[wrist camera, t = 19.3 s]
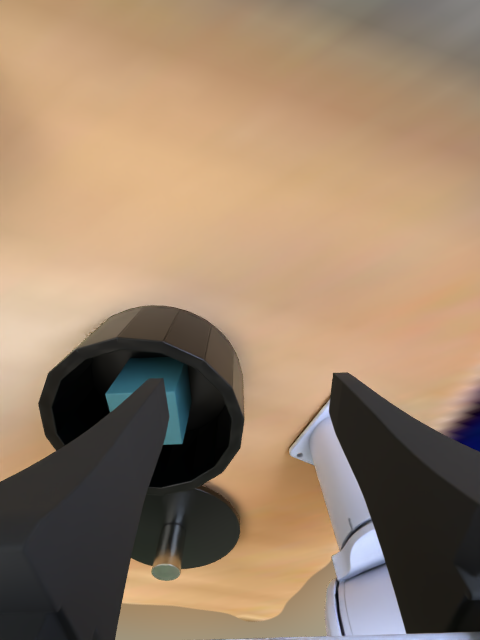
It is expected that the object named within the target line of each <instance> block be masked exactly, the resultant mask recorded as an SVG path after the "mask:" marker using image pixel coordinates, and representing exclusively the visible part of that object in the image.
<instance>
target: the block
mask: <svg viewBox="0 0 480 640" xmlns="http://www.w3.org/2000/svg"><path fill="white" fill-rule="evenodd" d="M149 378H164V385H165V391H166V397H167V404H168V410H169V422H168V427H167V432H166V436H165V440H164V443H163V445H171V444H182V443H183V439H184V435H185V431H186V426H187V422H188V417H189V413H190V408H191V404H192V399H191V391H190V382H189V374H188V365H186V364H184V363H182V362H180V361H177V360H175V359H173V358H170V357H154V358H130V359H129V360H128V361H127V363H126V364H125V366H124V367H123V369H122V370H121V372H120V373H119V375H118V376H117V378H116V379H115V380H114V382H113V383H112V385H111V386H110V388H109V389H108V391H107V392H106V394H105V395H106V399H107V403H108V407H109V411H110V412H112V411H113V410H114V409H115V408H116V407H118V406H119V405H120V404H121V403H122V402H123V401H124V400H125V399H127V398H128V397H129V396H130V395H131V394H132V393H133V392H134V391H136V390H137V389H138V388H139V387H140V386H141V385H142V384H143V383H144V382H145V381H147V380H148V379H149Z"/></svg>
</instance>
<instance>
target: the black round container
mask: <svg viewBox="0 0 480 640" xmlns="http://www.w3.org/2000/svg"><path fill="white" fill-rule="evenodd" d="M154 357H170V358H173V359H175V360H177V361H180V362H182V363H184V364H186V365H188V374H189V382H190V391H191V399H192V404H191V408H190V413H189V417H188V422H187V426H186V431H185V435H184V439H183V443H182V444H171V445H163V446H162V449H161V452H160V455H159V458H158V461H157V464H156V467H155V470H154V473H153V475H152V478H151V481H150V484H149V487H148V490H147V493H146V494H147V495H168V494H172V493H177V492H181V491H186V490H190V489H195V488H197V487H199V486H201V485H202V484H204V483H206V482H207V481H209V480H211V479H212V478H214V477H216V476H217V475H219V474H221V473H222V472H223V471H224V470H225V469H226V467H227V466H228V464H229V463H230V462H231V460H232V459H233V457H234V456H235V455H236V453H237V452H238V451H239V449H240V447H241V440H242V433H243V426H244V396H243V374H242V371H241V368H240V364H239V360H238V357H237V355H236V353H235V350H234V349H233V347H232V345H231V344H230V342H229V341H228V340H227V339H226V337H225V336H224V335H223V334H222V333H221V332H220V331H219V330H218V329H217V328H216V327H215V326H213V325H212V324H211V323H209V322H208V321H206V320H205V319H203V318H201V317H199V316H197V315H195V314H193V313H190V312H188V311H185V310H182V309H178V308H174V307H167V306H142V307H137V308H132V309H129V310H126V311H123V312H121V313H119V314H117V315H113V316H111V317H110V318H109V319H108V320H107V321H106V322H104V323H103V324H102V325H101V326H100V327H99V328H98V329H96V330H95V331H94V332H93V333H92V334H91V335H90V336H89V337H87V338H86V339H85V340H84V341H83V342H82V343H81V344H80V345H79V346H78V347H76V348H75V349H74V350H73V351H72V352H71V353H70V354H69V355H68V356H67V357H65V358H64V359H63V360H62V361H61V362H60V363H59V364H58V365H57V366H55V367H54V368H53V369H52V370H51V371H50V372H49V373H48V376H47V379H46V382H45V385H44V388H43V391H42V394H41V397H40V400H39V403H38V404H39V410H40V414H41V419H42V423H43V428H44V432H45V435H46V438H47V439H48V440H49V441H50V443H51V444H52V445H53V447H54V448H55V449H56V451H57V450H59V449H60V448H62V447H64V446H65V445H67V444H68V443H70V442H71V441H73V440H74V439H76V438H77V437H79V436H80V435H82V434H83V433H85V432H86V431H87V430H89V429H90V428H91V427H93V426H94V425H95V424H97V423H98V422H99V421H100V420H102V419H103V418H104V417H105V416H107V415H108V414H109V413H110V411H109V407H108V403H107V399H106V395H105V394H106V392H107V391H108V389H109V388H110V386H111V385H112V383H113V382H114V380H115V379H116V378H117V376H118V375H119V373H120V372H121V370H122V369H123V367H124V366H125V364H126V363H127V361H128V360H129V359H130V358H154Z"/></svg>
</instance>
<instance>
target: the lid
mask: <svg viewBox="0 0 480 640" xmlns="http://www.w3.org/2000/svg"><path fill="white" fill-rule="evenodd" d="M239 535H240V521H239V517H238V515H237V512H236V510H235V509H234V508H233V506H232V505H231V504H230V503H229V502H228V501H227V500H226V499H225V498H224V497H222V496H221V495H219V494H218V493H216V492H214V491H212V490H210V489H208V488H206V487H203V486H199V487H197V488H195V489H190V490H186V491H181V492H177V493H172V494H168V495H147V494H146V497H145V500H144V503H143V507H142V511H141V516H140V520H139V524H138V528H137V532H136V537H135V541H134V546H133V550H132V555H131V558H132V559H135V560H137V561H139V562H141V563H144V564H147V565H151V566H153V567H152V575H153V576H154V577H155V578H157V579H160V580H165V581H169V580H174V579H176V578H178V577H179V575H180V572H181V569H188V568H196V567H201V566H204V565H208V564H210V563H213V562H215V561H217V560H219V559H221V558H222V557H224V556H226V555H227V554H228V553H229V552H230V551H231V550H232V549H233V548H234V546H235V545H236V543H237V541H238V539H239Z"/></svg>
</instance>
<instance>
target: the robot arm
mask: <svg viewBox="0 0 480 640" xmlns="http://www.w3.org/2000/svg"><path fill="white" fill-rule="evenodd" d="M168 422H169V410H168V404H167V397H166V391H165V385H164V378H149V379H148V380H147V381H145V382H144V383H143V384H142V385H141V386H140V387H139V388H138V389H137V390H136V391H134V392H133V393H132V394H131V395H130V396H129V397H128V398H127V399H125V400H124V401H123V402H122V403H121V404H120V405H119V406H118V407H116V408H115V409H114V410H113V411H112V412H110V413H109V414H108V415H107V416H105V417H104V418H103V419H102V420H100V421H99V422H98V423H97V424H95V425H94V426H93V427H91V428H90V429H89V430H87V431H86V432H85V433H83V434H82V435H80V436H79V437H77V438H76V439H74V440H73V441H71V442H70V443H68V444H67V445H65V446H64V447H62V448H60V449H59V450H57V451H55V452H54V453H52V454H50V455H49V456H47V457H45V458H44V459H42V460H41V461H39V462H37V463H35V464H33V465H32V466H30V467H28V468H26V469H24V470H22V471H21V472H19V473H17V474H15V475H13V476H11V477H9V478H7V479H5V480H3V481H1V482H0V640H115V636H116V630H117V624H118V619H119V614H120V609H121V603H122V598H123V593H124V588H125V583H126V579H127V574H128V569H129V564H130V559H131V555H132V550H133V546H134V541H135V537H136V532H137V528H138V524H139V520H140V516H141V511H142V507H143V503H144V500H145V497H146V493H147V490H148V487H149V484H150V481H151V478H152V475H153V473H154V470H155V467H156V464H157V461H158V458H159V455H160V452H161V449H162V446H163V443H164V440H165V436H166V432H167V427H168ZM289 453H290V455H291V456H292V457H295V458H297V459H300V460H302V461H305V462H307V463H310V464H312V465H314V466H315V469H316V473H317V476H318V479H319V483H320V486H321V490H322V493H323V496H324V500H325V503H326V506H327V510H328V513H329V517H330V520H331V523H332V527H333V530H334V534H335V537H336V540H337V544H338V547H339V550H340V552H338V553H337V554H335V555H333V556H332V561H333V565H334V568H335V572H336V575H337V578H334V579H332V580H331V581H330V582H329V584H328V587H327V592H326V602H325V623H326V631H327V636H318V637H282V638H250V639H249V638H247V639H214V640H480V452H478V451H476V450H474V449H472V448H470V447H468V446H466V445H463V444H461V443H459V442H457V441H455V440H453V439H451V438H449V437H447V436H445V435H443V434H441V433H439V432H438V431H436V430H434V429H432V428H430V427H428V426H427V425H425V424H423V423H421V422H420V421H418V420H416V419H415V418H413V417H411V416H410V415H408V414H407V413H405V412H403V411H402V410H400V409H399V408H397V407H396V406H394V405H393V404H391V403H390V402H388V401H387V400H385V399H384V398H383V397H381V396H380V395H378V394H377V393H376V392H374V391H373V390H371V389H370V388H369V387H367V386H366V385H365V384H363V383H362V382H361V381H359V380H358V379H356V378H355V377H354V376H352V375H351V374H349V373H333V379H332V388H331V396H330V400H329V401H328V402H327V403H326V405H325V406H324V407H323V408H322V409H321V411H320V412H319V413H318V414H317V416H316V417H315V418H314V419H313V420H312V422H311V423H310V424H309V425H308V427H307V428H306V429H305V430H304V432H303V433H302V434H301V435H300V436H299V438H298V439H297V440H296V441H295V443H294V444H293V445H292V446H291V447H290V449H289ZM298 453H300V454H298ZM212 640H213V639H212Z"/></svg>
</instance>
